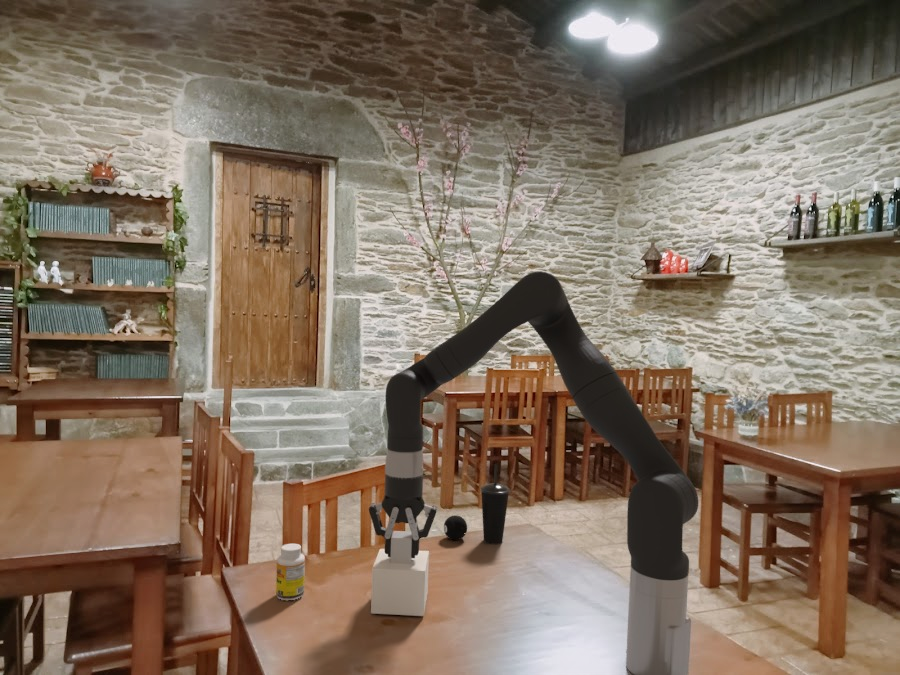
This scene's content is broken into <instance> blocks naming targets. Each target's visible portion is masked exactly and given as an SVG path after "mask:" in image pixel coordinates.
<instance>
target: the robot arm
mask: <svg viewBox="0 0 900 675" xmlns="http://www.w3.org/2000/svg"><path fill="white" fill-rule="evenodd" d="M525 323H529V325H530V326H531V327H532V328H533V330H535V332H536V334H538V336H539V337H540V339H541V340H542V341H543V343H544V344H545V345H546V347H547V348H548V349H549V351H550V354H552V357H553V359H554V361H555V364H556V366H557V368H558V372H559V374H560V376H561V379H562V381H563V383H564V385H565V387H566V389H567V391H568V393H569V395H570V397H571V399H572V401H573V402H574V404H575V405H576V407H577V409H578V410H579V412H580V414H581V415H582V417H583V418H584V420H585V421H586V422H587V424H588V425H589V426H590V427H591V428H592V429H593V431H595V432H596V433H597V434H598V435H599V436H600V437H601V438H603V439H604V440H605V441H606V442H607V443H609V445H611V446H612V447H613V448H614V449H615V450H616V451H617V453H619V454H620V455H621V456H622V457H623V458H624V460H625V461H626V462H627V464H628V465H629V467H630V468H631V470H632V472H633V473H634V476H635V477H636V479H637V482H636V483H634V485H633V486H632V487H631V490H630V492H629V496H628V499H627V500H628V501H627V512H626V513H627V515H626V516H627V520H626V521H627V522H626V524H627V528H626V530H627V533H626V535H627V536H626V538H627V540H626V541H627V548H628V552H629V554H630V572H629V574H630V576H629V590H628V591H629V592H628V616H627V634H626V635H627V636H626V649H625V650H626V651H625V652H626V657H625V659H626V660H625V665H626V668H627V669H628V671H629V672H630V673H631V674H632V675H689V674H690V673H689V671H690V670H689V669H690V668H689V667H690V655H691V654H690V650H691V636H692V635H691V633H692V620H691V618H690V617H688V616H687V611H688V610H687V607H688V592H689V591H688V590H689V588H688V587H689V572H690V558H689V556H688V555H687V553H686V552H684V551H683V534H684V533H683V532H684V531H683V527H684V525H685V524H686V523H688V522H689V521H691V520H692V519H693V518H694V517H695V515H696V513H697V511H698V509H699V496H698V492H697V490H696V487H695V485H694V483H693V482H692V481H691V479H690V477H689V476H688V475H687V474H686V473H685V471H684V470H683V469H682V467H681V466H680V465H679V464H678V462H677V461H676V460H675V459H674V457H673V456H672V455H671V454H670V452H669V451H668V450H667V448H666V447H665V446H664V445H663V443H662V442H661V441H660V439H659V438H658V436H657V435H656V433H655V432H654V430H653V428H652V427H651V425H650V423H649V422H648V420H647V419H646V417H645V415H644V413H643V412H642V411H641V409H640V407H639V406H638V404H637V403H636V401H635V399H634V398H633V396H632V394H631V393H630V391H629V390H628V388H627V386H626V385H625V384H624V382H623V380H622V378H621V377H620V376H619V374H618V373H617V371H616V369H615V368H614V367H613V365H612V364H611V363H610V361H609V360H608V359H607V357H606V356H605V355H604V354H603V353H602V352H601V351H600V349H599V348H597V346H596V345H595V344H594V343H593V342H592V341H591V340H590V338H589V337H588V336H587V335H586V333H585V332H584V330H583V328H582V327H581V324H580V323H579V322H578V319H577V317H576V315H575V313H574V311H573V310H572V307H571V306H570V303H569V301H568V298H567V295H566V293H565V290H564V288H563V286H562V284H561V282H560V281H559V280H558V278H557V277H556V276H555V275H554V274H553V273H550V272H548V271H544V270H536V271H532V272H530V273H527V274H526V275H525V276H523V277H522V278H520V279H519V280H518V281H517V282H516V283H515V284H514V285H513V286H511V287H510V289H508V291H506V293H505V294H503V295H502V296H501V297H500V298H499V299H498V300H497V301H496V302H494V303H493V304H492V305H491V306H490V307H489V308H488V309H487V310H485V311H484V312H483V313H482V314H480V315H479V316H478V317H476V319H475V320H473V321H472V322H470V323H469V324H468V325H467V326H465V327H464V328H462V329H461V330H460V331H458V332H457V333H455V334H454V335H452V336H451V337H450V338H448V339H447V340H445V341H444V342H442V343H441V344H439V345H438V346H436V347H435V348H433V349H432V350H430V352H428V353H427V354H426V355H425V357H423V358H421V359H420V360H419V361H417V362H415V363H414V364H412V365H410V366H409V367H407V368H406V369H404V370H402V371H400V372H398V373H396V374H394V375H392V376H391V378H390V379H389V380H388V382H387V385H386V387H385V410H386V419H387V427H388V428H387V442H386V443H387V445H386V446H387V448H386V456H385V465H384V496H383V499H382V501H381V502H378V503H376V502H372V503H370V506H369V508H368V513H369V515H370V519H371V523H372V526H373V528H374V532H375V535H377V537H378V536H381V537H383V538H384V549H385V554H388V557H391V537H392V534H393V532H394V528H395V525H396V524H400V523H403V524H408V526H409V531H410V532H411V533H412V537H413V538H412V550H411V558H415V555H418V553H419V550H420V539H423V538H424V539H426V538H428V536H429V533H430V530H431V528H432V525H433V522H434V519H435V517H436V514H437V510H438V508H437V506H436V505H432V506H431V505H429V504H426V503H425V501H424V498H423V490H424V489H423V486H424V483H423V481H424V453H423V452H424V450H423V447H424V426H423V424H422V422H421V401H422V400H424V399H425V398H427V397H428V396H429V395H431V394H432V393H433V392H434V391H436V390H437V389H438V388H440V387H441V386H443V385H444V384H447V383H448V382H451V381H453V380H454V379H455V378H457V377H459V376H460V375H462V374H463V373H464V372H465V373H466V372H467V370H469V369H471V368H472V367H473V366H475V365H476V364H477V363H478V362H479V361H481V360H482V359H483V358H484V357H485V356H486V354H488V353H489V352H490V351H491V350H492V349H493V347H494V346H495V345H496V344H497V343H498V342H499V341H500V340H502V339H503V337H505V336H506V335H507V334H509V333H510V332H512V331H513V330H514V329H516V328H518V327H520V326H522V325H524V324H525ZM382 510H384V512H385V513H386V515H387V517H388V518H389V519H388V524H387V526H386V527H384V525H383V522H382V519H381V516H380V514H381V513H382ZM423 511H424V516H425V517H426V520H425V523H424V525H423V528H421V529H420V528H419V523H418V519H417V518H418V517H419V515H420V514H421V513H422V512H423Z"/></svg>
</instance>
